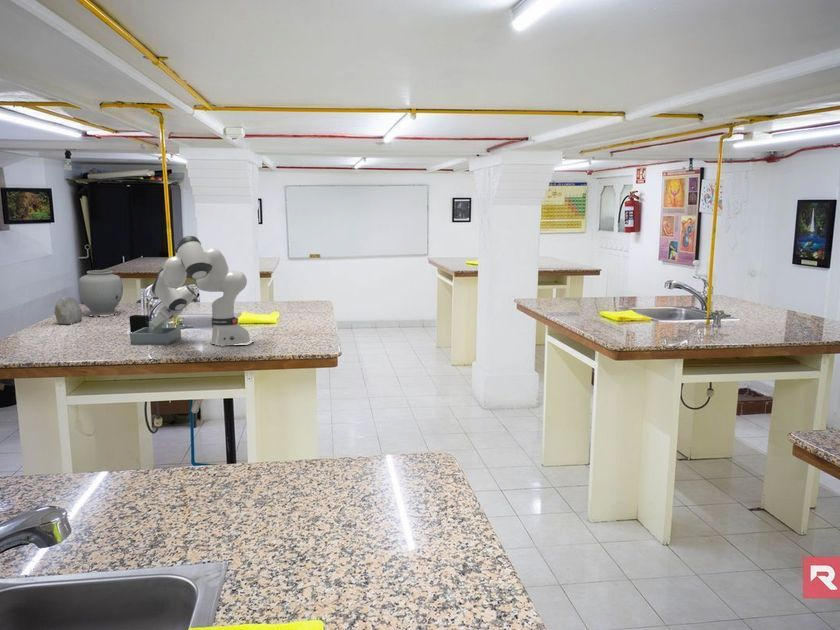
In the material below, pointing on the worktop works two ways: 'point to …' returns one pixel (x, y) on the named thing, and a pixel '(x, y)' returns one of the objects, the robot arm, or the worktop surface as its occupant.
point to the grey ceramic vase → (100, 291)
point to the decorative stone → (67, 311)
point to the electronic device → (138, 322)
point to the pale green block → (157, 329)
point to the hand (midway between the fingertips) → (154, 328)
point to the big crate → (155, 336)
